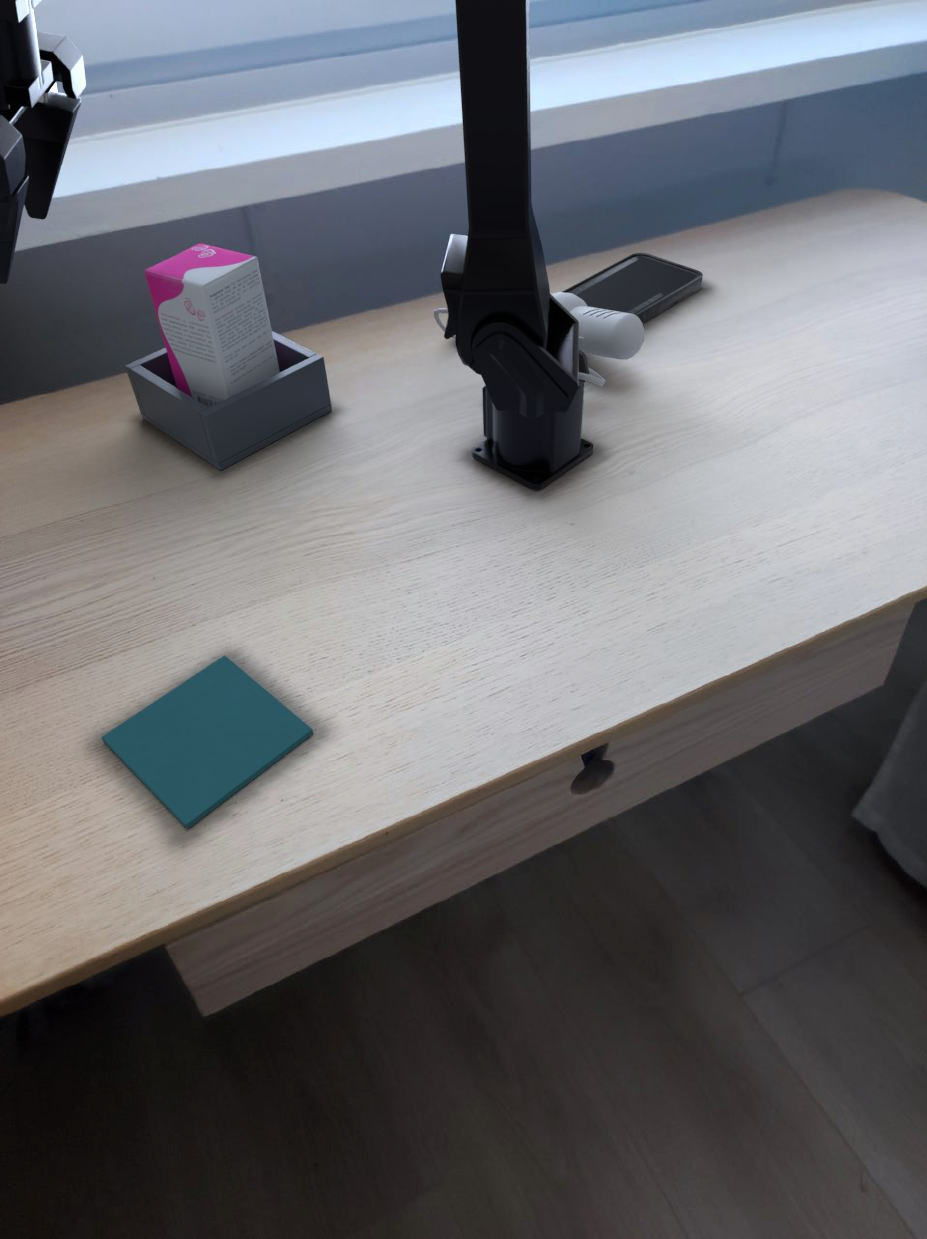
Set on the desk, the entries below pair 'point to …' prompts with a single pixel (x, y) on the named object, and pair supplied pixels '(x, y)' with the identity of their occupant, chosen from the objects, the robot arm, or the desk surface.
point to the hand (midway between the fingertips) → (18, 248)
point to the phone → (638, 286)
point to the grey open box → (234, 405)
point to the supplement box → (213, 321)
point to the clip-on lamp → (596, 333)
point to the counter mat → (206, 739)
